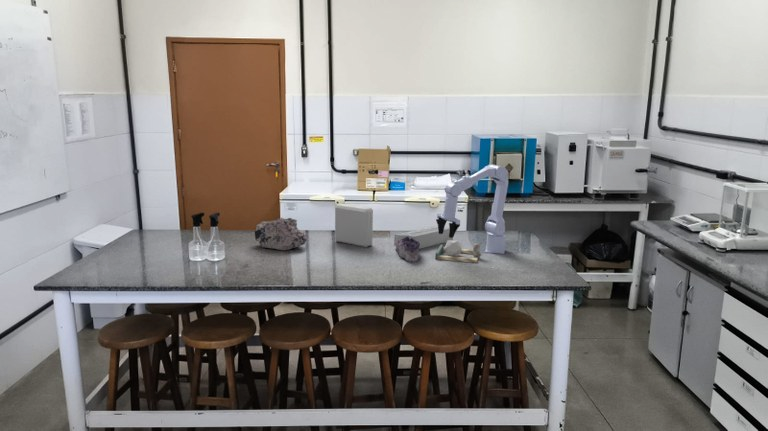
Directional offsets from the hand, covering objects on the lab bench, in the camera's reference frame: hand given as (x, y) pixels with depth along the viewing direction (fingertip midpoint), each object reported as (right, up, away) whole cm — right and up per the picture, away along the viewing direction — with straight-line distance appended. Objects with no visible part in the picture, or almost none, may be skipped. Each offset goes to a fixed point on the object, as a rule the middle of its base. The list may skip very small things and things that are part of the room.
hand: (445, 235), depth 271 cm
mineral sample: (-83, -6, +16) cm, 85 cm away
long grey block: (-9, -5, +28) cm, 30 cm away
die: (+4, -10, +4) cm, 12 cm away
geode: (-17, -11, +2) cm, 21 cm away
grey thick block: (-46, -5, +24) cm, 52 cm away
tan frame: (+6, -10, +3) cm, 12 cm away
